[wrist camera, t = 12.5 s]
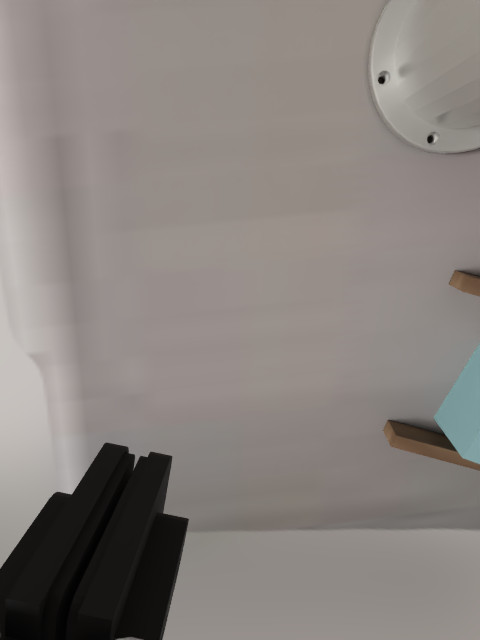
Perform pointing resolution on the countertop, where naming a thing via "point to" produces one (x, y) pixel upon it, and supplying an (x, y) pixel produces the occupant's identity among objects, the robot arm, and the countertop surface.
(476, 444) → the carton
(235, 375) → the countertop surface
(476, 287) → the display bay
